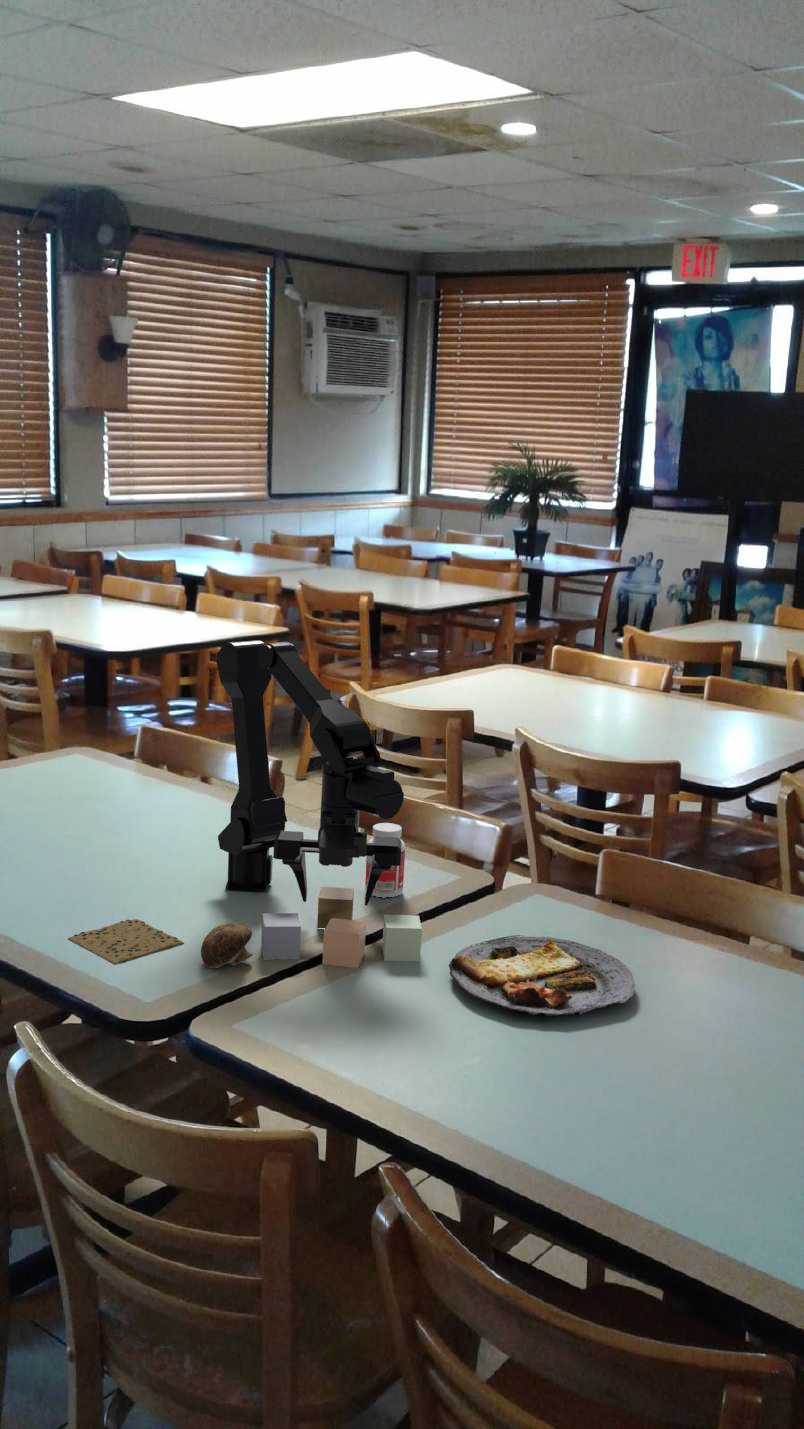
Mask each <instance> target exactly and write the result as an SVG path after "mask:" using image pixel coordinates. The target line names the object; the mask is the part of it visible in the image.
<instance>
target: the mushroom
mask: <svg viewBox="0 0 804 1429" xmlns="http://www.w3.org/2000/svg"><path fill="white" fill-rule="evenodd" d="M252 936H253V932H252V929H251V928H249V927H248V926H245V925H244V924H241V923H239V924H238V923H233V922H231V923H230V922H228V923H224V924H221V925H217V926H216V927H214V928H212V929H211V930H210V932H209V933H208V934H207V935H206V936H205V937H204V939H203V942H202V943H201V948H200V953H201V954H200V955H201V959H202V962H203V964H204V966H205V967H206V968H209V969H218V968H220V967H222V966H224V965H226V964H231V965H232V966H236V965H239V964H241V963H243V962H245V961H247V960H248V959H250V958H251V957H253V956H254V953H252V952H250V951H248V950H247V949H246V946H247V944H248V943H249V942H250V940H251V939H252Z"/></svg>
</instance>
